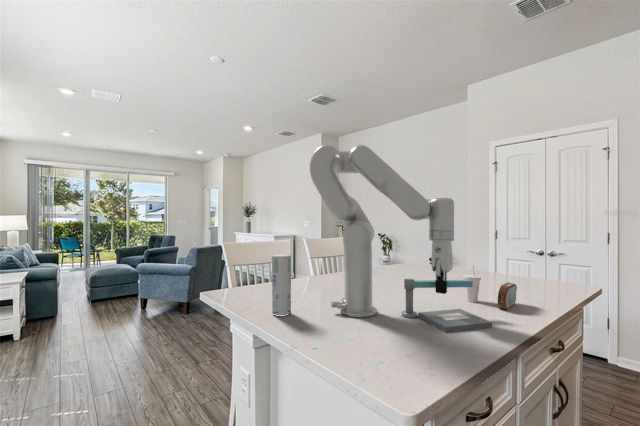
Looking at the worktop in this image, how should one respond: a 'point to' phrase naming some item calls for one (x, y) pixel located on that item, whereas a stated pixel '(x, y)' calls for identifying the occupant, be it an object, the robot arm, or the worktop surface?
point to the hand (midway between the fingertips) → (441, 292)
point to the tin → (507, 295)
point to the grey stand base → (446, 317)
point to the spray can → (281, 284)
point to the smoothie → (472, 291)
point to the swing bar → (434, 283)
